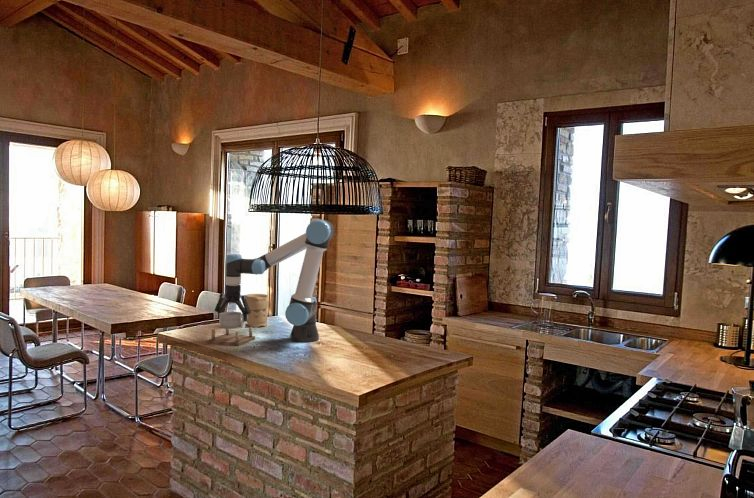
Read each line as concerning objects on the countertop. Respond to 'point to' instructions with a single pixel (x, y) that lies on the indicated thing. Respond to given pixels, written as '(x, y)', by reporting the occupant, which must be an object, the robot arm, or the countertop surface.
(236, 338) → the rack
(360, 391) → the countertop surface
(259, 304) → the container
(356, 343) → the countertop surface
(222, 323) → the teacup
